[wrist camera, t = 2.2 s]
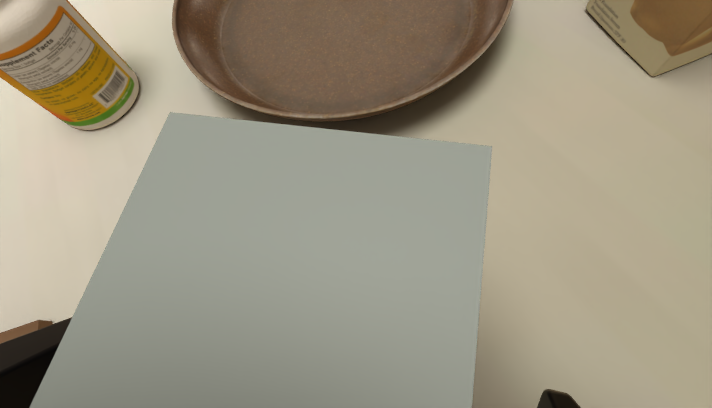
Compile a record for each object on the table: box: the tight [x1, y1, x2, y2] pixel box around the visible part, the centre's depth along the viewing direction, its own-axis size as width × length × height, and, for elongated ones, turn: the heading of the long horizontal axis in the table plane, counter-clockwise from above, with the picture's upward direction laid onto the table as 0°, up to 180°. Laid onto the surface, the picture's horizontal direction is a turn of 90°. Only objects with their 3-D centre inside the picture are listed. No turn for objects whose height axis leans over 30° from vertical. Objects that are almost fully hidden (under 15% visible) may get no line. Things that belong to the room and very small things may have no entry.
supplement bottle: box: [0, 0, 139, 130], centre depth 20 cm, size 5×5×10 cm
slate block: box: [29, 112, 492, 408], centre depth 10 cm, size 5×5×13 cm
